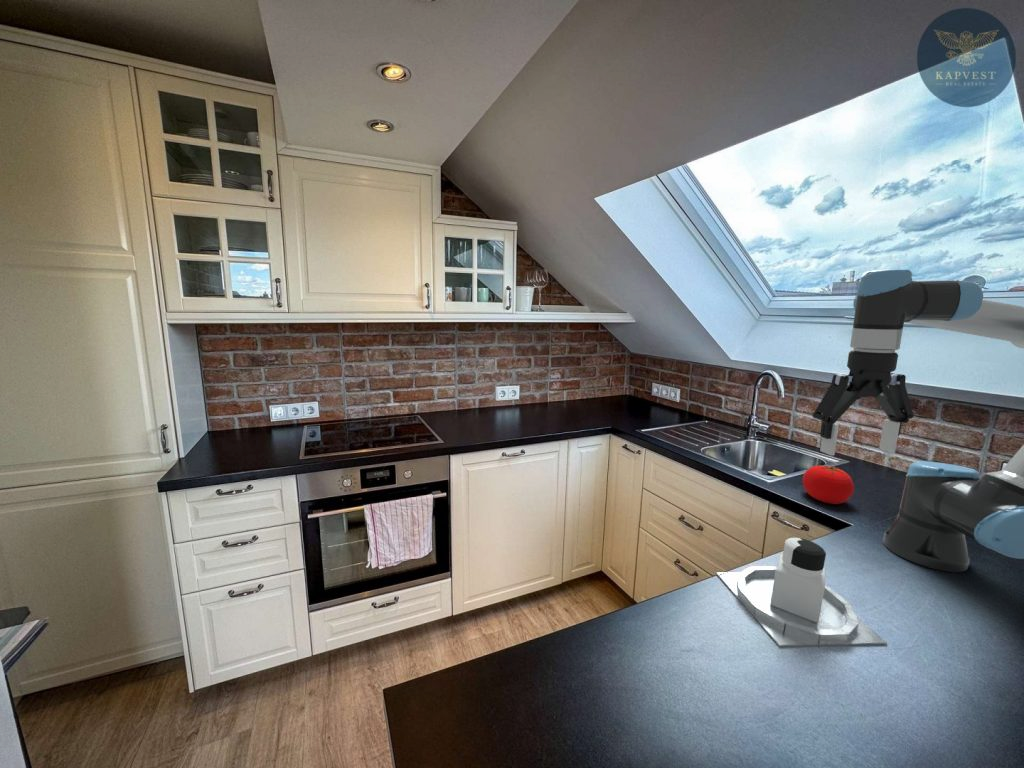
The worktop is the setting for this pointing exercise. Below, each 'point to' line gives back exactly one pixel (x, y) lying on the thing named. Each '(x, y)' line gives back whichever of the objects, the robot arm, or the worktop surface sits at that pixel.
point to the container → (800, 579)
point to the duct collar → (791, 629)
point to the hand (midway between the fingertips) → (857, 452)
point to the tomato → (828, 484)
